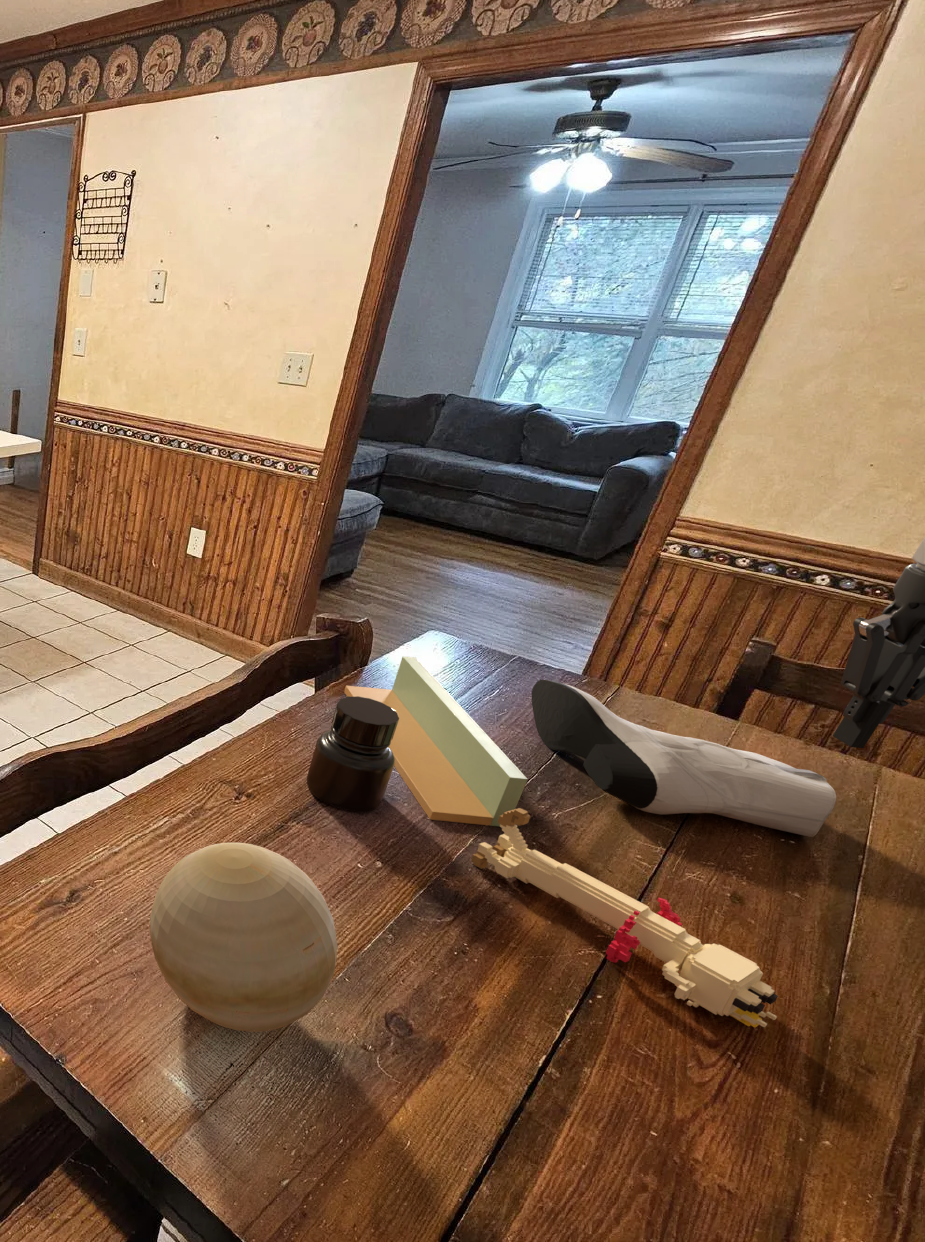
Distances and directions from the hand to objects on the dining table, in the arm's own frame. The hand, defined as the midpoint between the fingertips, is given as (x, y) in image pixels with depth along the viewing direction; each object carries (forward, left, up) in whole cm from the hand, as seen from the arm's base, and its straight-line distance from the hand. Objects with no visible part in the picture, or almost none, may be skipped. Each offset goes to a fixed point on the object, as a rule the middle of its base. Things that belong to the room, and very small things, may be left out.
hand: (847, 741), depth 103 cm
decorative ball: (+87, +46, -8) cm, 99 cm away
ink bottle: (+66, +12, -8) cm, 67 cm away
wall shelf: (+52, 0, -7) cm, 53 cm away
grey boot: (+21, 0, -8) cm, 22 cm away
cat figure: (+47, +33, -8) cm, 58 cm away
